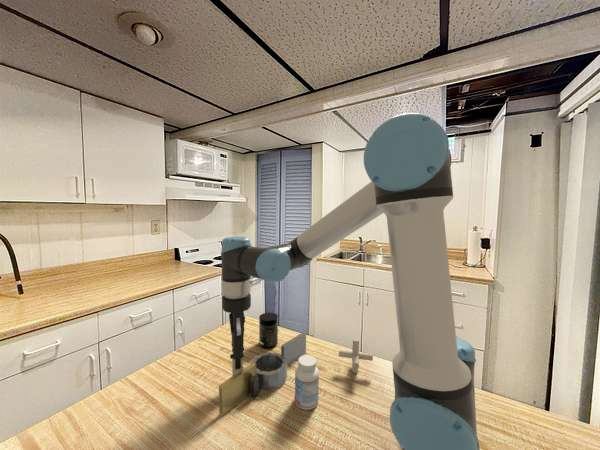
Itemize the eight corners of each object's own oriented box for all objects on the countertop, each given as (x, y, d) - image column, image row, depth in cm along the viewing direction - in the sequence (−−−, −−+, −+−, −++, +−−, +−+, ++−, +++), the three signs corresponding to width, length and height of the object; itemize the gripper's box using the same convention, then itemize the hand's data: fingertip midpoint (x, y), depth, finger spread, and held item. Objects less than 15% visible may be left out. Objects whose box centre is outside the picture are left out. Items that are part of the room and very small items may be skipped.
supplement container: (281, 343, 91) (281, 316, 90) (267, 352, 86) (267, 322, 85) (269, 337, 95) (269, 311, 94) (255, 344, 90) (255, 316, 89)
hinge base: (316, 357, 82) (316, 337, 82) (259, 403, 63) (259, 377, 63) (293, 346, 89) (293, 327, 88) (234, 384, 70) (234, 360, 69)
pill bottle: (293, 393, 67) (294, 353, 66) (316, 392, 67) (317, 352, 66) (295, 412, 61) (296, 368, 60) (320, 410, 61) (321, 367, 60)
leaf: (256, 388, 68) (256, 364, 67) (222, 415, 59) (222, 387, 59) (253, 386, 69) (253, 362, 68) (219, 413, 60) (218, 385, 59)
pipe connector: (373, 385, 70) (374, 351, 69) (337, 379, 72) (338, 346, 71) (370, 363, 80) (371, 333, 79) (339, 359, 82) (340, 329, 81)
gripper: (254, 301, 62) (254, 390, 64) (247, 285, 75) (248, 360, 76) (222, 304, 60) (224, 397, 62) (221, 287, 72) (222, 365, 74)
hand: (237, 376), depth 69 cm, fingers closed
